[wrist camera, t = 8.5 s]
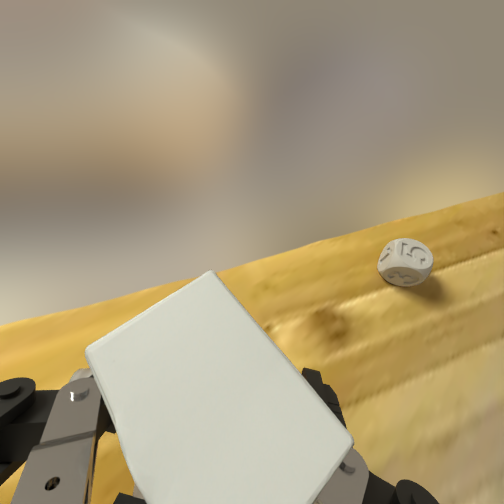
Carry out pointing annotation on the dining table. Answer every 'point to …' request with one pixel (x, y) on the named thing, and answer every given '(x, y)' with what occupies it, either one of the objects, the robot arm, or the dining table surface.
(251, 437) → the skincare box
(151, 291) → the dining table surface
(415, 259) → the die
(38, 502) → the robot arm
